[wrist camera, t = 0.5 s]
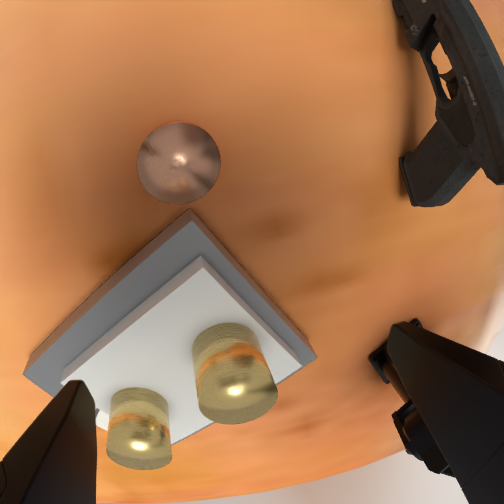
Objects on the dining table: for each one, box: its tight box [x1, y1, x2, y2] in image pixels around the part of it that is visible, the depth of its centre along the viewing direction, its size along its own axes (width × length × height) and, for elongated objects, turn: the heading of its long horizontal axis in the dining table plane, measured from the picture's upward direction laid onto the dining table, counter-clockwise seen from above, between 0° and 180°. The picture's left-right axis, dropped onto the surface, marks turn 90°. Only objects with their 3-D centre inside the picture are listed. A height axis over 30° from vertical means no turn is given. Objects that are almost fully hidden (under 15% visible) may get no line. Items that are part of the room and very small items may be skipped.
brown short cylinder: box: [137, 121, 220, 204], centre depth 18 cm, size 4×4×3 cm
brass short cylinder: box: [192, 323, 278, 424], centre depth 18 cm, size 4×4×4 cm
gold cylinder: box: [106, 387, 172, 470], centre depth 19 cm, size 4×4×4 cm
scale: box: [23, 209, 317, 446], centre depth 23 cm, size 15×19×4 cm
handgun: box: [392, 0, 504, 207], centre depth 16 cm, size 2×17×12 cm, turn 4°
